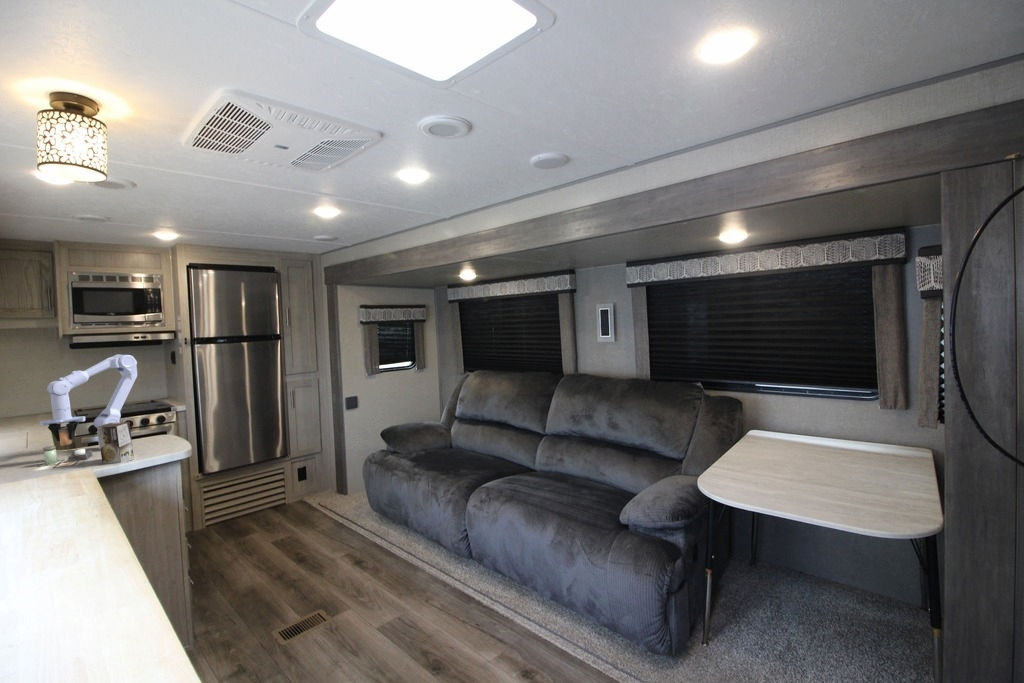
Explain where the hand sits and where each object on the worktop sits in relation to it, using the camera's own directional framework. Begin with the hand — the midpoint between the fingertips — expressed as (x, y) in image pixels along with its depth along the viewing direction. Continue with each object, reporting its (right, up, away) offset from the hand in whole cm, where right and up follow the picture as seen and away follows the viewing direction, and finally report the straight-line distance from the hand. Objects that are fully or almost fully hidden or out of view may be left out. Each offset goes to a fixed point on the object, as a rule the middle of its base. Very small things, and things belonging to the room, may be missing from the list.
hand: (65, 439), depth 205 cm
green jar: (-1, -9, -5) cm, 10 cm away
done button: (+7, -8, -1) cm, 11 cm away
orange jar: (0, -2, 0) cm, 2 cm away
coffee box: (+26, -9, -4) cm, 28 cm away
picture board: (+4, -9, -6) cm, 12 cm away
